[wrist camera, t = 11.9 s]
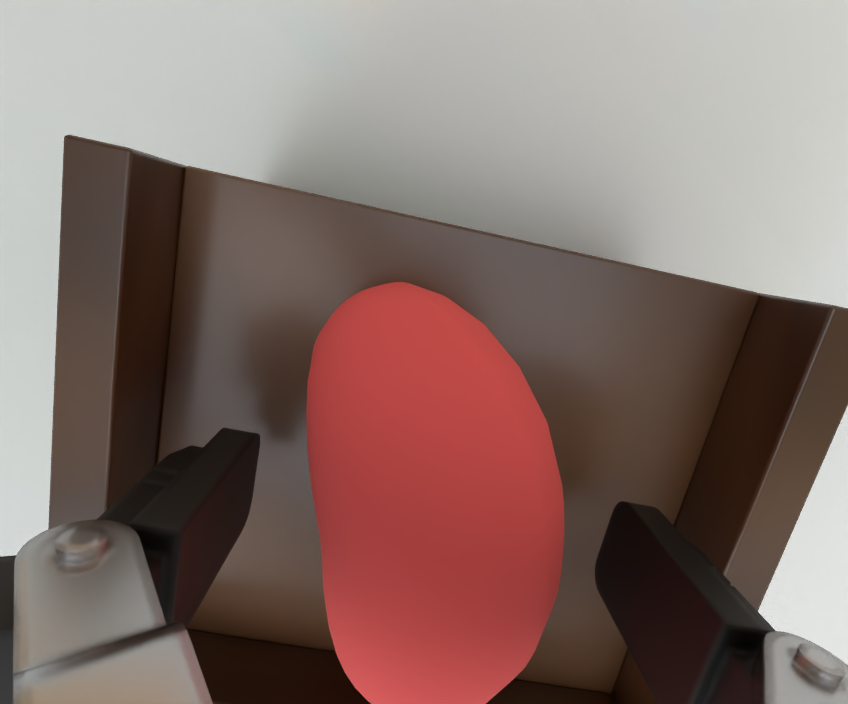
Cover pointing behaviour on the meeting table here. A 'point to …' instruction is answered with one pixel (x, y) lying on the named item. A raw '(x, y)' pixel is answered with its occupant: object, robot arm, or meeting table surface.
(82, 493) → the rack
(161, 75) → the meeting table surface
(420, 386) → the red rounded oblong piece
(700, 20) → the meeting table surface
